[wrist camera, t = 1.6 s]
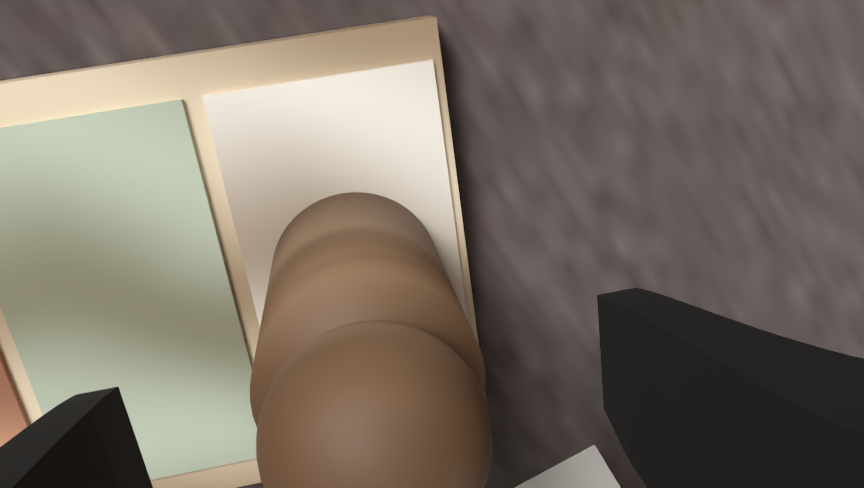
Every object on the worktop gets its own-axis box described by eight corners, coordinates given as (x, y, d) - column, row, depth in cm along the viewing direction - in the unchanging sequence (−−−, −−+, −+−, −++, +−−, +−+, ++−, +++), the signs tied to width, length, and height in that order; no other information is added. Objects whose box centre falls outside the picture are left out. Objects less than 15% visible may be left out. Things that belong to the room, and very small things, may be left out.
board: (481, 412, 19) (491, 438, 17) (-120, 535, 17) (-149, 572, 16) (429, 15, 15) (437, 17, 14) (-332, 131, 14) (-388, 143, 13)
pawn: (447, 329, 16) (547, 600, 9) (290, 359, 16) (263, 665, 9) (425, 178, 15) (521, 352, 8) (255, 208, 15) (189, 418, 7)
